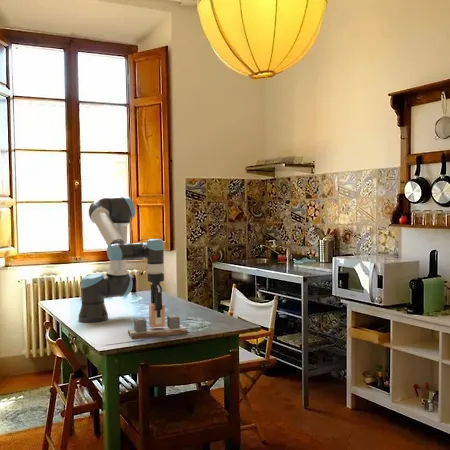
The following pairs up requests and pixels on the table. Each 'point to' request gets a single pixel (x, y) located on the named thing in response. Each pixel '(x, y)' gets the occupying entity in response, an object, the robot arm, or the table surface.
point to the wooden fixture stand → (157, 328)
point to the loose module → (152, 316)
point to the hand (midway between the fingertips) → (156, 322)
